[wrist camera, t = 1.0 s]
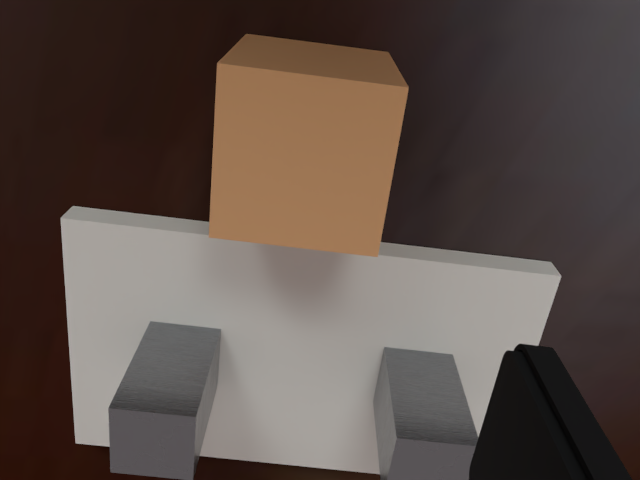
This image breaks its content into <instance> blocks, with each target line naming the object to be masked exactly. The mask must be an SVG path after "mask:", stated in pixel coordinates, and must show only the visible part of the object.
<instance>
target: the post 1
mask: <svg viewBox="0 0 640 480" xmlns="http://www.w3.org/2000/svg"><path fill="white" fill-rule="evenodd" d="M220 340H221V329H217V328H208V327H199V326H190V325H181V324H171V323H162V322H153V321H150V323H149V325H148V327H147V329H146V331H145V333H144V335H143V337H142V339H141V341H140V344H139V346H138V348H137V350H136V352H135V354H134V356H133V358H132V360H131V362H130V364H129V366H128V368H127V370H126V373H125V375H124V377H123V379H122V381H121V383H120V385H119V387H118V389H117V391H116V393H115V395H114V397H113V400H112V402H111V404H110V406H109V408H108V413H109V442H110V471H111V472H113V473H123V474H133V475H143V476H153V477H163V478H173V479H183V480H193V479H194V475H195V471H196V467H197V464H198V460H199V456H200V452H201V448H202V444H203V440H204V436H205V432H206V429H207V425H208V421H209V417H210V413H211V409H212V405H213V401H214V397H215V394H216V390H217V386H218V372H219V356H220Z"/></svg>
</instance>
